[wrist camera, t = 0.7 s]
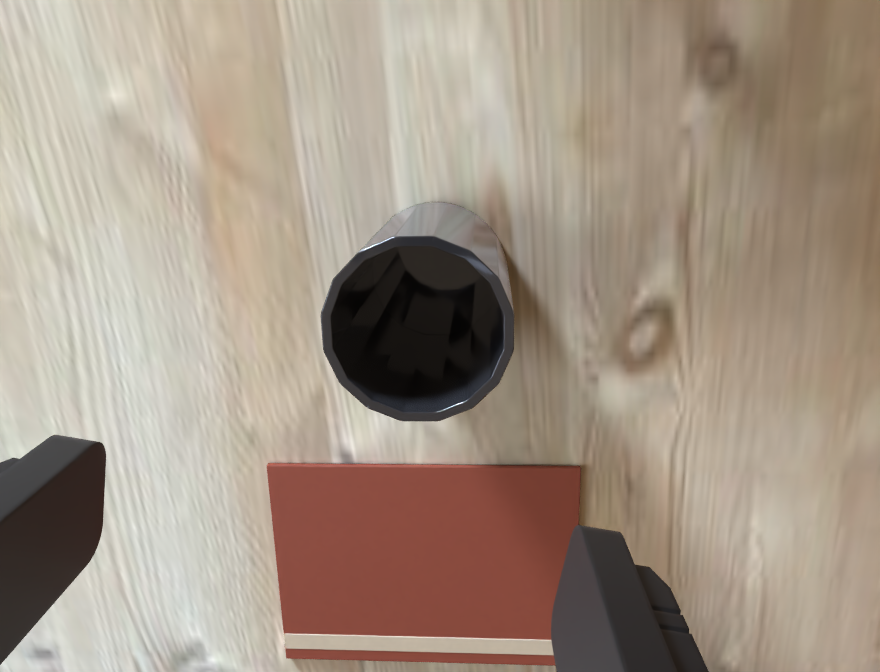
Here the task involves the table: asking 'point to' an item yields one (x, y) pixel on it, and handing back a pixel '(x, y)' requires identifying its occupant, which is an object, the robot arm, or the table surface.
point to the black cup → (422, 315)
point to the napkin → (421, 559)
